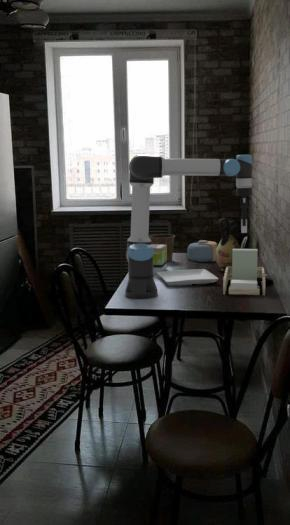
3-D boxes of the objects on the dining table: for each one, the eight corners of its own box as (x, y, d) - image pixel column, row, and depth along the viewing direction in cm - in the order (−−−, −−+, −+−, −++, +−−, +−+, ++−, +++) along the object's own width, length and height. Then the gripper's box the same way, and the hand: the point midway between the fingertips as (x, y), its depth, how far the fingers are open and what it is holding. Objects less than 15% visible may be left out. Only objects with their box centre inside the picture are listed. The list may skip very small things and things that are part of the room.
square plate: (204, 274, 291) (204, 268, 290) (219, 285, 264) (219, 277, 264) (155, 277, 286) (155, 270, 286) (166, 288, 260) (166, 280, 259)
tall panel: (256, 286, 258) (257, 250, 255) (232, 286, 261) (232, 250, 257) (256, 284, 263) (257, 248, 260) (232, 284, 265) (232, 248, 262)
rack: (265, 295, 241) (265, 280, 239) (223, 294, 244) (223, 279, 243) (263, 280, 272) (263, 267, 271) (226, 279, 276) (226, 266, 275)
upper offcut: (257, 289, 241) (257, 283, 241) (230, 289, 244) (230, 282, 243) (257, 286, 248) (257, 280, 248) (231, 285, 250) (231, 279, 250)
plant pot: (146, 262, 329) (146, 237, 327) (153, 258, 345) (153, 234, 342) (171, 263, 325) (171, 237, 322) (177, 259, 340) (177, 234, 337)
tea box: (163, 274, 294) (162, 247, 292) (145, 273, 296) (144, 247, 294) (167, 268, 309) (167, 243, 306) (150, 268, 311) (150, 243, 308)
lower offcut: (259, 296, 242) (259, 289, 242) (228, 295, 245) (228, 288, 244) (259, 292, 249) (259, 286, 248) (229, 291, 252) (229, 285, 251)
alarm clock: (220, 261, 329) (220, 242, 327) (188, 262, 329) (188, 243, 327) (217, 256, 348) (217, 238, 346) (186, 257, 348) (186, 239, 346)
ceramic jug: (229, 266, 311) (229, 216, 306) (247, 270, 299) (248, 217, 293) (207, 270, 302) (207, 218, 297) (225, 274, 290) (225, 220, 284)
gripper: (252, 188, 241) (252, 234, 245) (251, 186, 266) (251, 228, 269) (236, 188, 243) (236, 234, 247) (236, 186, 267) (236, 228, 271)
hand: (243, 231), depth 258 cm, fingers open, 13 cm apart
